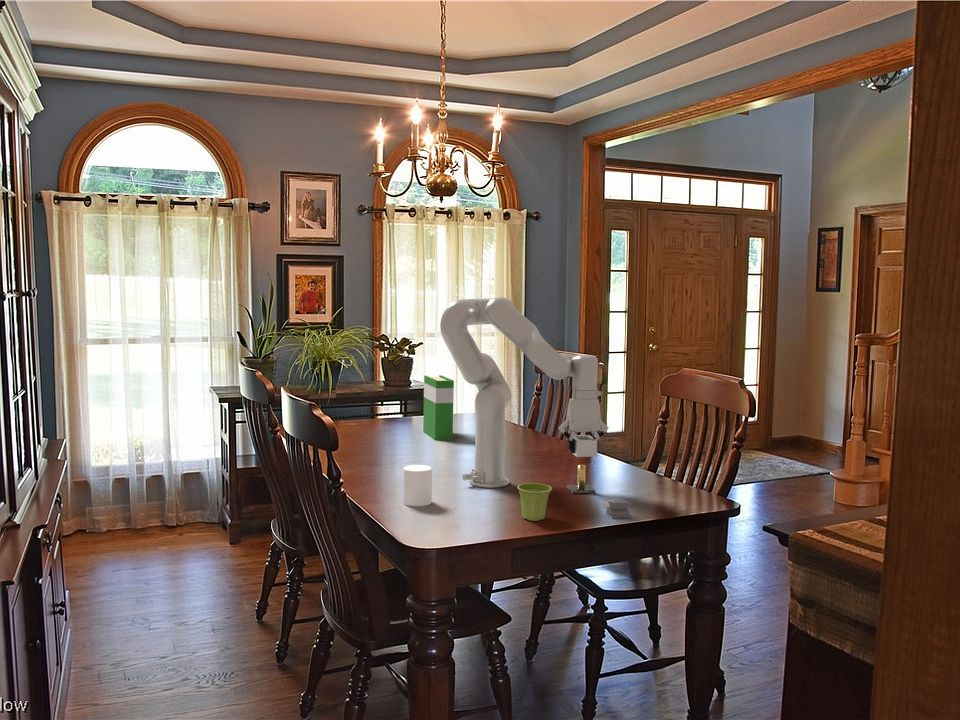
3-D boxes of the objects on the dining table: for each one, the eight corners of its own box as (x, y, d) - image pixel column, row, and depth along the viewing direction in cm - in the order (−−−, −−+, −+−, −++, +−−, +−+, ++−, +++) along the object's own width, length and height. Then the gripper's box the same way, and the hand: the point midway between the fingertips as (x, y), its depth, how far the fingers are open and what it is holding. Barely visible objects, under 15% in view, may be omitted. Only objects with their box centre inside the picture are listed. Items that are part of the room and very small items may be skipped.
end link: (596, 456, 250) (597, 440, 249) (576, 456, 249) (577, 440, 248) (588, 450, 258) (589, 435, 258) (569, 451, 257) (569, 435, 257)
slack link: (620, 511, 233) (621, 506, 233) (608, 511, 232) (608, 506, 232) (614, 505, 239) (614, 500, 239) (602, 505, 238) (602, 500, 238)
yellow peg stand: (594, 493, 252) (595, 468, 251) (572, 493, 251) (573, 468, 250) (588, 487, 259) (589, 462, 258) (566, 488, 258) (567, 463, 257)
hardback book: (423, 432, 344) (424, 375, 341) (440, 431, 346) (441, 375, 344) (434, 440, 327) (436, 380, 325) (452, 439, 330) (453, 380, 327)
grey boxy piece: (629, 518, 226) (630, 504, 226) (612, 518, 226) (612, 504, 225) (623, 513, 231) (624, 499, 231) (606, 513, 231) (607, 499, 230)
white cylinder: (405, 471, 231) (399, 462, 242) (405, 507, 232) (399, 496, 243) (434, 470, 233) (427, 461, 244) (433, 506, 234) (426, 495, 245)
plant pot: (548, 513, 229) (549, 483, 229) (552, 523, 220) (553, 491, 219) (515, 512, 229) (516, 482, 228) (518, 522, 220) (518, 491, 219)
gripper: (607, 393, 257) (606, 449, 258) (554, 393, 254) (552, 450, 256) (615, 396, 249) (613, 454, 251) (560, 397, 247) (558, 455, 248)
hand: (582, 451), depth 253 cm, fingers closed on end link, 6 cm apart
